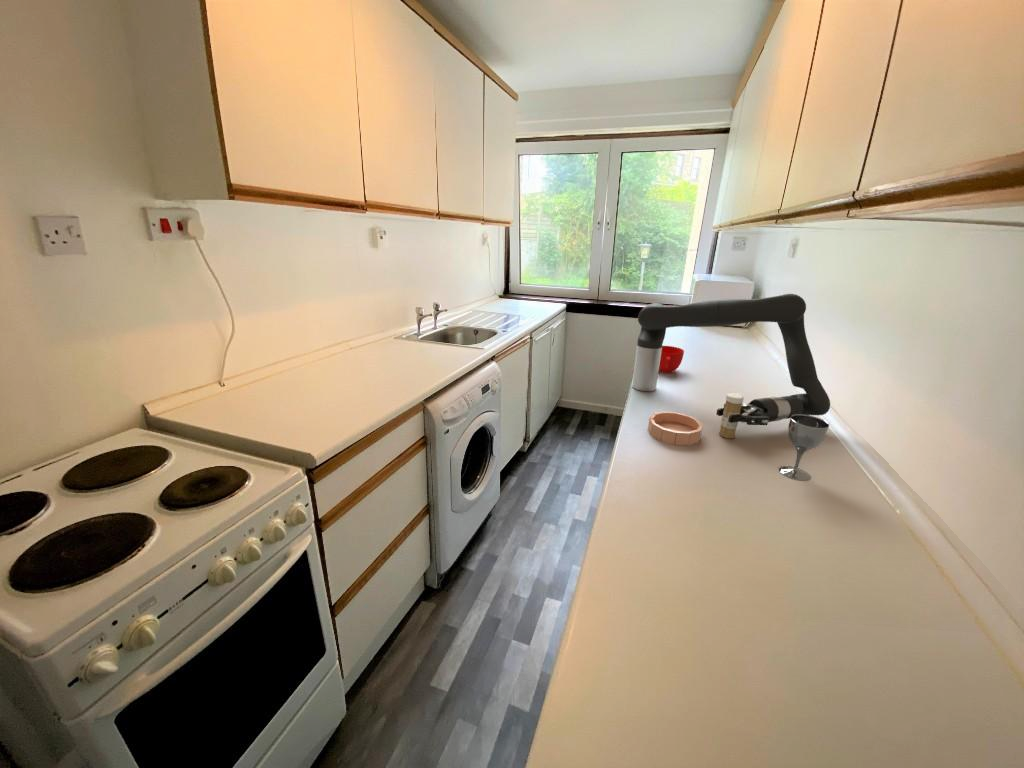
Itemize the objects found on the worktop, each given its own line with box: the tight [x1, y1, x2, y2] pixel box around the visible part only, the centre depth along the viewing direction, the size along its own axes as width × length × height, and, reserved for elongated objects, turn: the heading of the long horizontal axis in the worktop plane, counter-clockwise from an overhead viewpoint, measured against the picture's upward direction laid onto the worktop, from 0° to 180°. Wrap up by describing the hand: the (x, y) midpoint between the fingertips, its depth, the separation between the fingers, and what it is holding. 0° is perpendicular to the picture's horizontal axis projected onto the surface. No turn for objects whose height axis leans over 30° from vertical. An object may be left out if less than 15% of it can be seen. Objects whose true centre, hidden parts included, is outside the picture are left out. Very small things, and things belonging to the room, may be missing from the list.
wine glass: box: [778, 414, 830, 482], centre depth 105 cm, size 8×8×15 cm
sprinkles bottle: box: [718, 392, 745, 439], centre depth 125 cm, size 5×5×13 cm
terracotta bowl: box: [647, 411, 704, 446], centre depth 127 cm, size 15×15×4 cm
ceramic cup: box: [658, 345, 685, 374], centre depth 182 cm, size 13×17×10 cm
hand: (723, 415), depth 124 cm, fingers closed on sprinkles bottle, 4 cm apart
